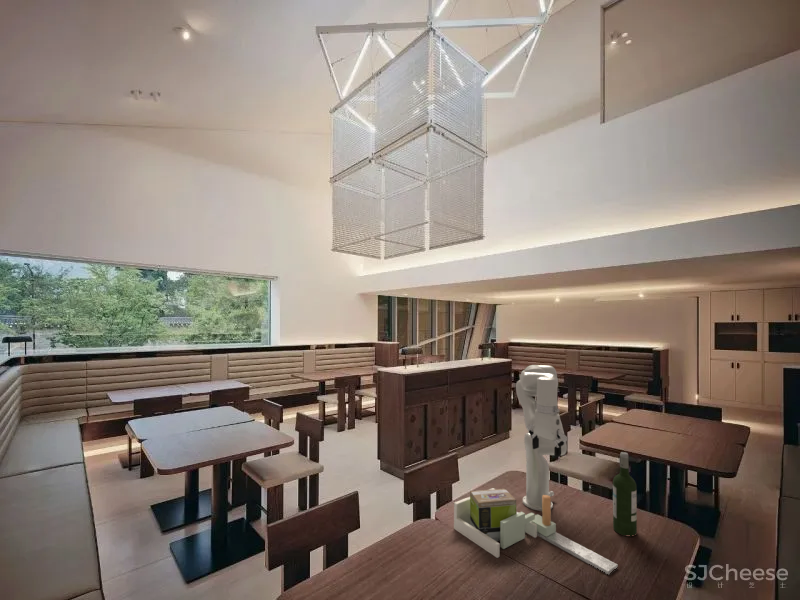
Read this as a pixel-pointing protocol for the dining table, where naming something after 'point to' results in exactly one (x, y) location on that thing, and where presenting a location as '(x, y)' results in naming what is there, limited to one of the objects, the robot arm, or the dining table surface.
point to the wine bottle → (624, 500)
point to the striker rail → (580, 552)
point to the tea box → (491, 510)
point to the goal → (474, 534)
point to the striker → (515, 524)
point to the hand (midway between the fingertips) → (546, 452)
